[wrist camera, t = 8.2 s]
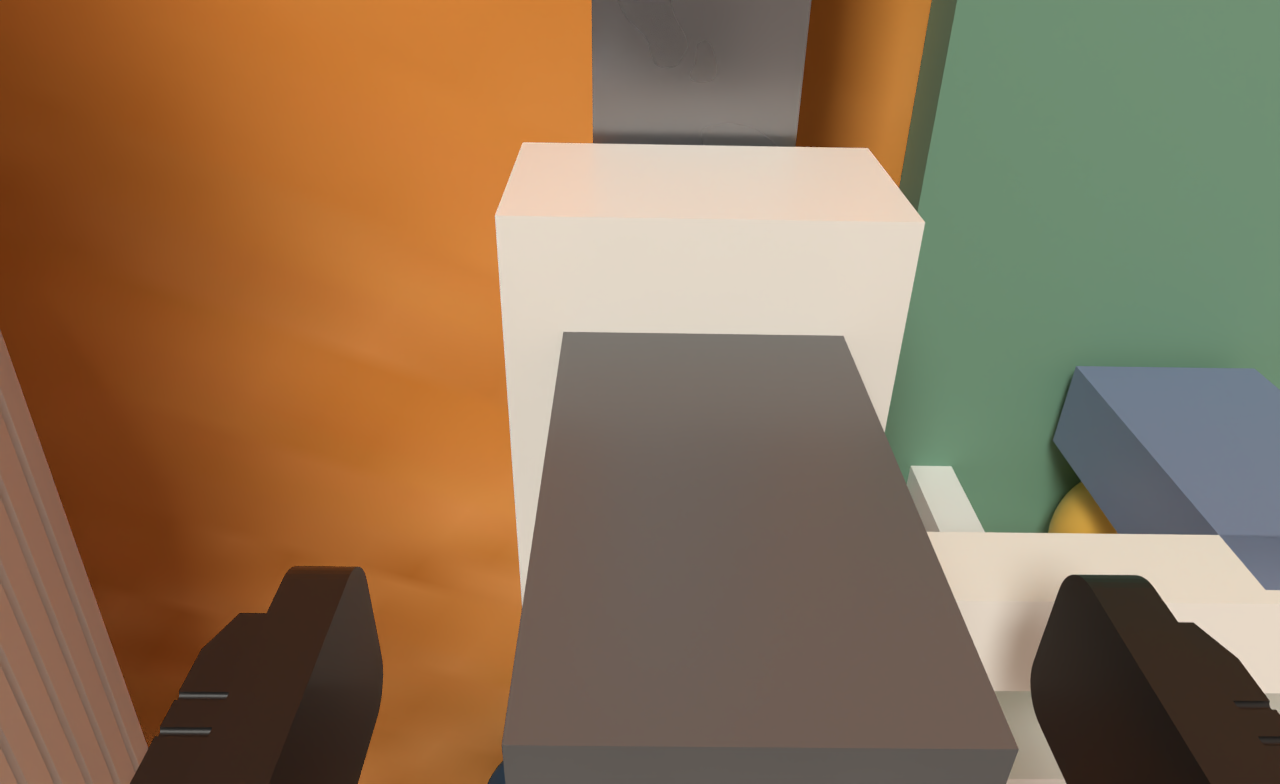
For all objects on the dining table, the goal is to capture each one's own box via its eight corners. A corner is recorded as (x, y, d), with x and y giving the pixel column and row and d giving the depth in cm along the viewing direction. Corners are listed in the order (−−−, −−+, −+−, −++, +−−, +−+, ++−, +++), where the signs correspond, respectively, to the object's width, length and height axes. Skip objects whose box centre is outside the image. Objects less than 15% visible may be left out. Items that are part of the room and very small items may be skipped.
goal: (910, 465, 22) (960, 580, 18) (1315, 470, 22) (1440, 585, 19) (865, 676, 26) (899, 802, 22) (1208, 679, 26) (1296, 806, 22)
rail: (602, -750, 13) (581, -1157, 8) (815, -745, 13) (935, -1142, 8) (606, 646, 27) (599, 831, 22) (704, 647, 27) (720, 832, 22)
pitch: (1025, -541, 14) (1065, -580, 12) (2044, -513, 14) (2186, -550, 13) (819, 648, 27) (828, 687, 26) (1337, 653, 28) (1371, 692, 26)
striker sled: (547, 76, 17) (357, 578, 5) (1374, 91, 17) (2918, 604, 5) (560, 434, 21) (468, 1145, 9) (1222, 442, 21) (1917, 1149, 10)
